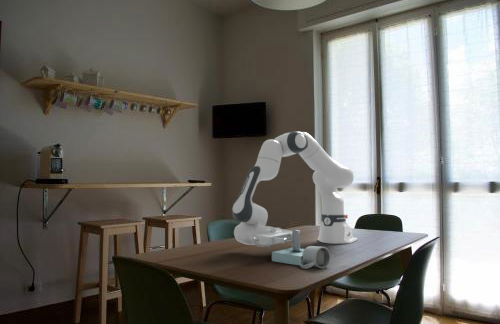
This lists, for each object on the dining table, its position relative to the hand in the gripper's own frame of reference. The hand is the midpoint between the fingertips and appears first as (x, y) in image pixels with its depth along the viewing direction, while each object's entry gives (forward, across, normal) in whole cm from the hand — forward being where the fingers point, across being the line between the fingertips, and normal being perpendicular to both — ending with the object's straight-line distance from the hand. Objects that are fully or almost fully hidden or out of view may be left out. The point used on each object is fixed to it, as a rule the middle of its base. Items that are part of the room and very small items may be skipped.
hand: (292, 239), depth 156 cm
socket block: (+2, 0, +8) cm, 8 cm away
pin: (+2, 0, +8) cm, 8 cm away
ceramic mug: (+14, -6, +8) cm, 17 cm away
